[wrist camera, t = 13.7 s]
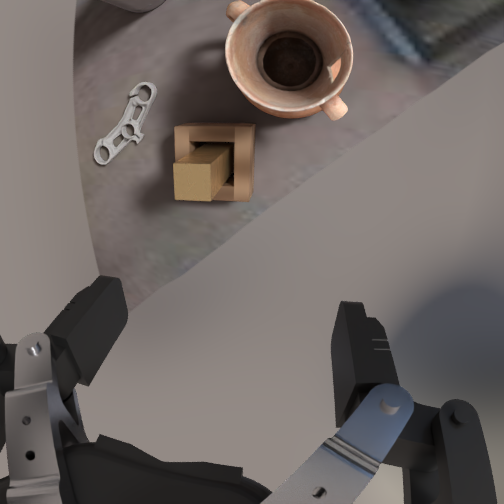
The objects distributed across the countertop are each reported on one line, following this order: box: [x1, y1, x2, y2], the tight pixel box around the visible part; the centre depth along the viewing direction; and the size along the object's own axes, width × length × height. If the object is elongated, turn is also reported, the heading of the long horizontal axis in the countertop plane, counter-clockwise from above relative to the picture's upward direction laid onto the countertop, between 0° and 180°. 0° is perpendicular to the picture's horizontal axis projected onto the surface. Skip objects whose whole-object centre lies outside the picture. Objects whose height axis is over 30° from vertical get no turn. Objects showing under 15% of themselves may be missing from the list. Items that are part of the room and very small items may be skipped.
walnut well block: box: [174, 123, 255, 202], centre depth 42 cm, size 10×10×5 cm
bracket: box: [94, 82, 157, 165], centre depth 43 cm, size 8×2×15 cm
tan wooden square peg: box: [173, 143, 234, 201], centre depth 38 cm, size 4×4×14 cm
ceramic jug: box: [225, 0, 353, 121], centre depth 31 cm, size 18×14×14 cm
